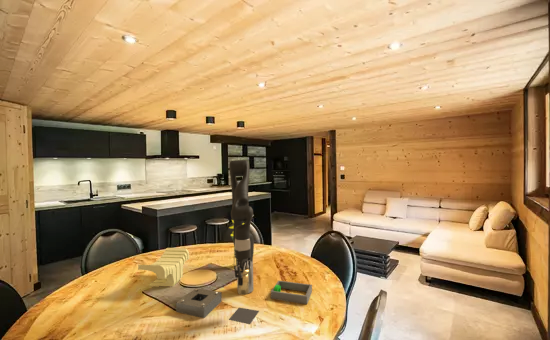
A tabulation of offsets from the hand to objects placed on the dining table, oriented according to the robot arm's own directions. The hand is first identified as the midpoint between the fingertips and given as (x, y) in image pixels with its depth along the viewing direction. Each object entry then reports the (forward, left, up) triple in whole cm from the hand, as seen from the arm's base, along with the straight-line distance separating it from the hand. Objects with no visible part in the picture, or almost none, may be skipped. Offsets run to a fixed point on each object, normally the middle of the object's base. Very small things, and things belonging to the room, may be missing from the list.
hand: (243, 282), depth 125 cm
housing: (0, -25, -16) cm, 30 cm away
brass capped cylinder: (0, 0, -5) cm, 5 cm away
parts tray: (-26, +17, -16) cm, 35 cm away
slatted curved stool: (-17, -61, -17) cm, 66 cm away
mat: (0, 0, -16) cm, 16 cm away
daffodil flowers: (-54, -29, -17) cm, 64 cm away
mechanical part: (-20, +7, -19) cm, 29 cm away
